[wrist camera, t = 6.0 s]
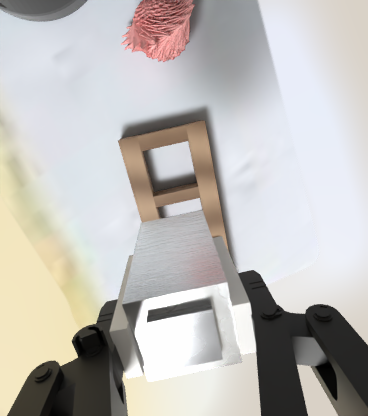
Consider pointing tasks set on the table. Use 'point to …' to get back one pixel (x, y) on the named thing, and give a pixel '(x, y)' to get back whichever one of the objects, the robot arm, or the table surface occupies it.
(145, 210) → the board
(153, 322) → the block
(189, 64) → the table surface
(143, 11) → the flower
